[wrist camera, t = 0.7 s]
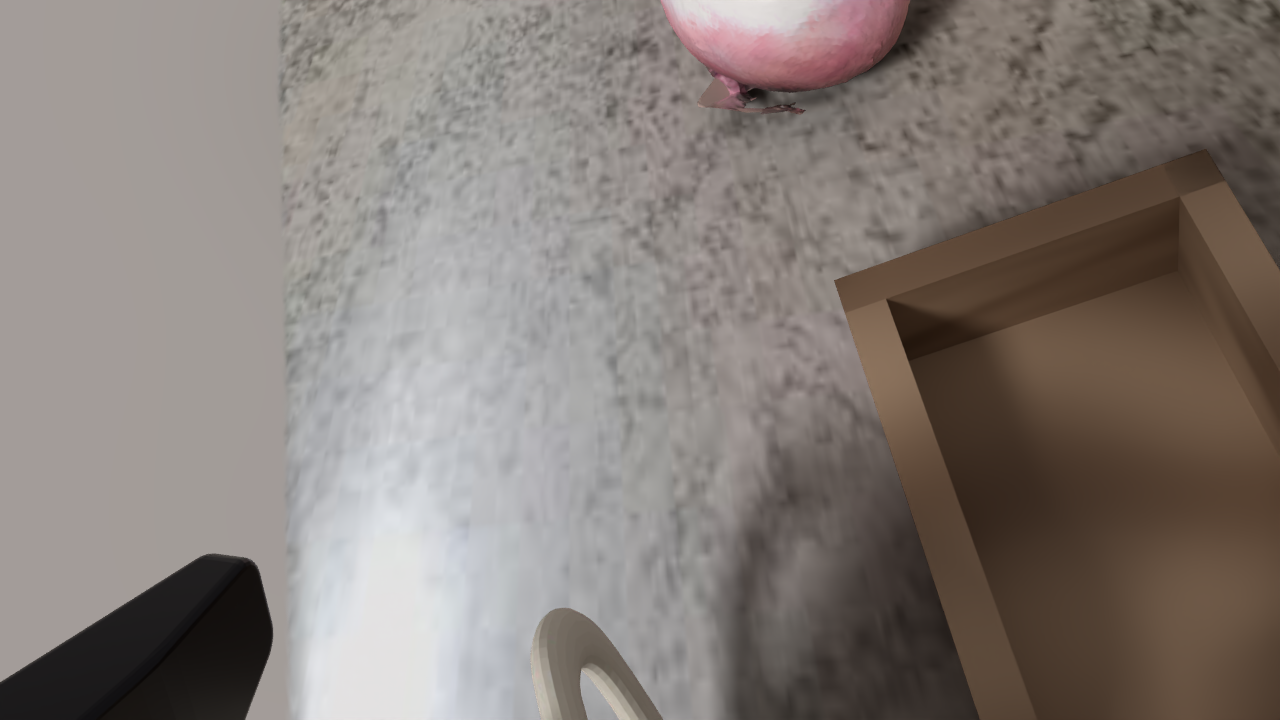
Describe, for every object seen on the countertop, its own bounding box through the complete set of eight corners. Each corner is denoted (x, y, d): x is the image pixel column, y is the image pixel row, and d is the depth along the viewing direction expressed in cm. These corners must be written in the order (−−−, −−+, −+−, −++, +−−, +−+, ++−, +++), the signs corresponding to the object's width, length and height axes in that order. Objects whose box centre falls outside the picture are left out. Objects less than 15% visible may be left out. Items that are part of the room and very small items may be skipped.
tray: (1485, 732, 23) (1529, 682, 20) (1027, 847, 25) (1011, 815, 22) (1201, 235, 30) (1206, 148, 27) (861, 350, 32) (834, 280, 29)
